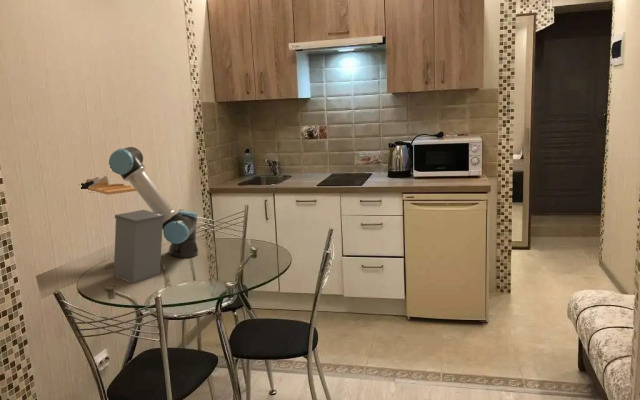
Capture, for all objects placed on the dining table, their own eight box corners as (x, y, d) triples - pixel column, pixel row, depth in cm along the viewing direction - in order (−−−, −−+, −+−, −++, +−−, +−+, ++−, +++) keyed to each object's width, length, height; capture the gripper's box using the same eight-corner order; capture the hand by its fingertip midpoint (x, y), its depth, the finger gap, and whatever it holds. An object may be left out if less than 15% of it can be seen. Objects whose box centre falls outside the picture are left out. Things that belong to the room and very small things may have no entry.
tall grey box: (112, 276, 228) (115, 214, 223) (140, 267, 243) (143, 209, 237) (133, 283, 223) (135, 220, 217) (160, 274, 237) (164, 215, 232)
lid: (74, 186, 233) (74, 180, 232) (104, 182, 247) (104, 177, 247) (107, 194, 223) (108, 189, 223) (137, 190, 238) (137, 185, 237)
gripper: (90, 200, 254) (120, 185, 243) (59, 205, 239) (89, 188, 228) (85, 186, 254) (115, 170, 243) (54, 190, 239) (84, 172, 228)
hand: (102, 179), depth 236 cm, fingers closed on lid, 4 cm apart
